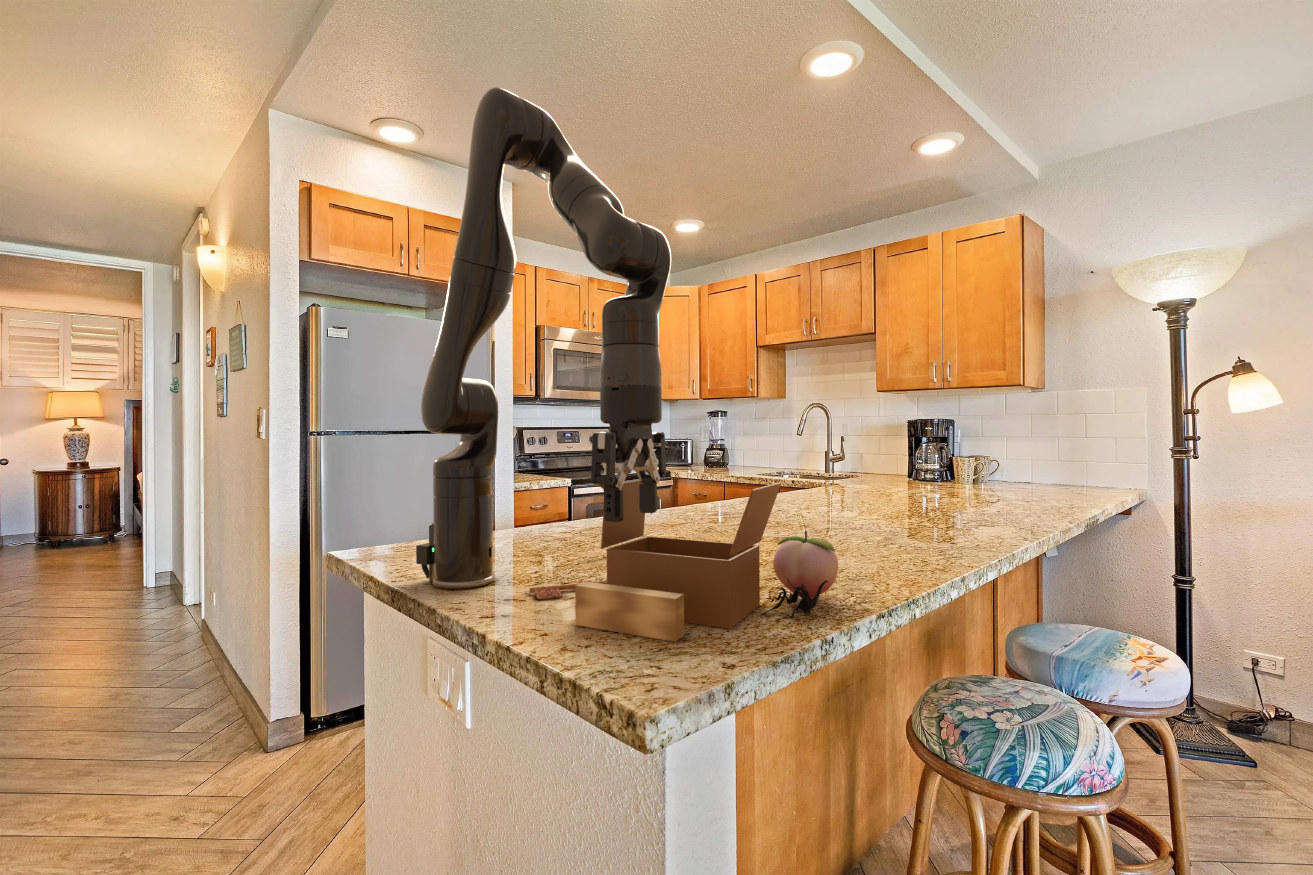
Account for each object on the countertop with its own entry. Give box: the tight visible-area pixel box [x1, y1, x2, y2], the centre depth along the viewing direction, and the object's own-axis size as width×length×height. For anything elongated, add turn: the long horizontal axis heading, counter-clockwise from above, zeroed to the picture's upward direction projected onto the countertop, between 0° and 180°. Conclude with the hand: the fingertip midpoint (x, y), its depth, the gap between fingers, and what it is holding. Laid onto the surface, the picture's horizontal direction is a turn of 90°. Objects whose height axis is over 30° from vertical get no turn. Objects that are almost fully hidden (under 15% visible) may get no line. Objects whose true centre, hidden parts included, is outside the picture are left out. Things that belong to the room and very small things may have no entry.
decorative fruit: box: [772, 530, 839, 599], centre depth 89 cm, size 9×8×10 cm
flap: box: [729, 482, 782, 556], centre depth 80 cm, size 9×12×1 cm
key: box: [528, 579, 607, 600], centre depth 94 cm, size 6×1×15 cm
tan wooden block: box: [574, 581, 685, 643], centre depth 76 cm, size 14×2×5 cm, turn 63°
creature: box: [764, 577, 828, 619], centre depth 82 cm, size 8×5×8 cm
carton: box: [600, 479, 761, 630], centre depth 85 cm, size 19×12×17 cm, turn 63°
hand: (631, 516), depth 76 cm, fingers open, 8 cm apart
